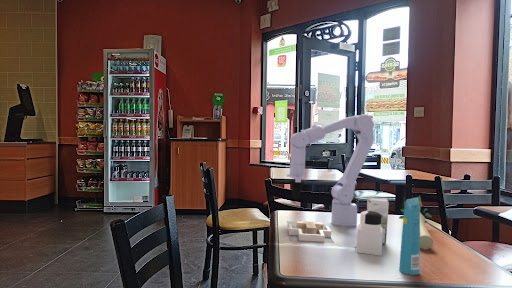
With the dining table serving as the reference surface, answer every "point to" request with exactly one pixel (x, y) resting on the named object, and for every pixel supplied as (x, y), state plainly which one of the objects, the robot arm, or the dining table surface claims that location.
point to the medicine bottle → (370, 233)
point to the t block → (309, 227)
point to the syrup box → (382, 208)
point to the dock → (310, 236)
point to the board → (296, 238)
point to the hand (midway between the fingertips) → (295, 198)
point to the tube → (410, 238)
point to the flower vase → (422, 229)
